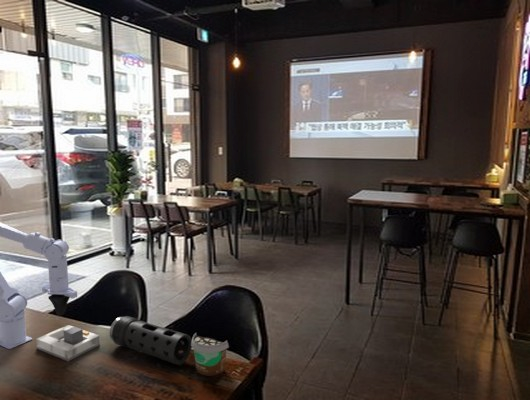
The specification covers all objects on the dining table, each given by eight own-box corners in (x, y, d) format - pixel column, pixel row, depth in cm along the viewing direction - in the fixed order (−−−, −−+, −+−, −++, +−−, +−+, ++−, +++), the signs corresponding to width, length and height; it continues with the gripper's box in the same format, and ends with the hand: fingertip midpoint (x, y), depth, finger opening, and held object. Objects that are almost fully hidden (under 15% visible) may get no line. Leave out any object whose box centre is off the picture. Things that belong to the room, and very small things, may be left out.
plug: (64, 348, 136) (63, 331, 135) (75, 343, 140) (74, 326, 139) (72, 351, 134) (71, 334, 133) (83, 346, 138) (82, 329, 137)
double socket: (36, 348, 137) (36, 337, 137) (69, 334, 148) (68, 323, 147) (68, 361, 130) (67, 349, 129) (99, 345, 140) (99, 333, 140)
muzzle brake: (172, 374, 124) (172, 341, 122) (108, 350, 137) (106, 320, 136) (192, 359, 132) (192, 329, 131) (130, 338, 145) (128, 310, 144)
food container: (183, 371, 125) (182, 340, 123) (195, 361, 130) (194, 332, 129) (218, 382, 120) (217, 350, 118) (228, 371, 125) (228, 340, 124)
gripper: (33, 276, 139) (35, 314, 141) (63, 283, 133) (66, 323, 135) (51, 270, 146) (53, 307, 148) (81, 276, 140) (83, 314, 142)
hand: (60, 314), depth 142 cm, fingers closed
